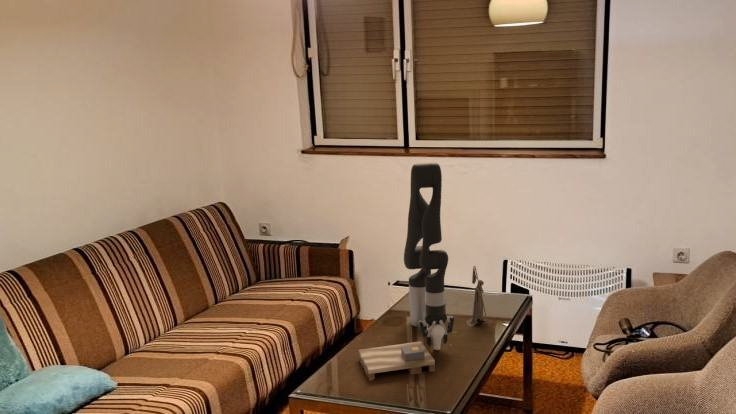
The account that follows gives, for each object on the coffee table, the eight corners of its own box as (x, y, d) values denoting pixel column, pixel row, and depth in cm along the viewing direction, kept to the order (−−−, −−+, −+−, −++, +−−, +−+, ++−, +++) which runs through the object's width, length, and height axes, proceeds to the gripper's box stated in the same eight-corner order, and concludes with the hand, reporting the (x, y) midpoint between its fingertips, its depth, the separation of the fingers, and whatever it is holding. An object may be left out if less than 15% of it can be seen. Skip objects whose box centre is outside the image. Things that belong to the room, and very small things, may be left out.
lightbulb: (446, 347, 273) (446, 320, 271) (443, 354, 267) (442, 326, 265) (431, 346, 275) (430, 319, 273) (427, 352, 269) (426, 324, 267)
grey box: (401, 355, 259) (401, 347, 258) (419, 352, 260) (419, 344, 259) (405, 361, 253) (405, 353, 252) (424, 359, 254) (424, 351, 254)
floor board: (359, 359, 266) (358, 349, 266) (421, 351, 271) (420, 341, 270) (369, 380, 249) (368, 370, 248) (435, 371, 254) (434, 360, 253)
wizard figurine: (484, 328, 290) (484, 269, 284) (464, 326, 293) (463, 267, 287) (490, 319, 299) (489, 262, 294) (470, 317, 302) (469, 260, 297)
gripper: (450, 296, 272) (451, 338, 276) (414, 301, 269) (415, 343, 273) (456, 302, 265) (458, 345, 268) (419, 307, 262) (421, 350, 266)
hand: (436, 344), depth 271 cm, fingers closed on lightbulb, 5 cm apart
